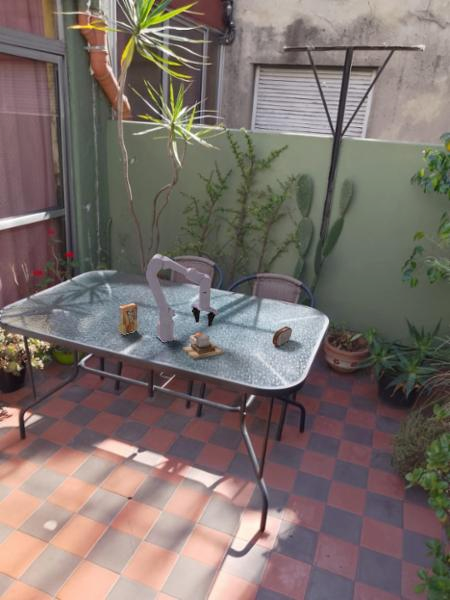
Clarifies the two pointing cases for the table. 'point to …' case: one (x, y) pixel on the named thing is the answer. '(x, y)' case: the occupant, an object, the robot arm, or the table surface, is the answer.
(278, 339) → the sandwich
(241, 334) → the table surface
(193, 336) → the button housing
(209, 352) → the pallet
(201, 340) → the billet
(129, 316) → the candy box
